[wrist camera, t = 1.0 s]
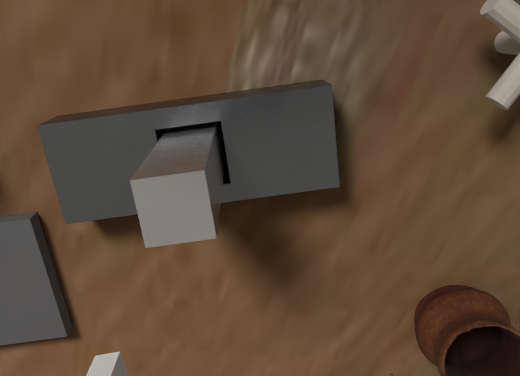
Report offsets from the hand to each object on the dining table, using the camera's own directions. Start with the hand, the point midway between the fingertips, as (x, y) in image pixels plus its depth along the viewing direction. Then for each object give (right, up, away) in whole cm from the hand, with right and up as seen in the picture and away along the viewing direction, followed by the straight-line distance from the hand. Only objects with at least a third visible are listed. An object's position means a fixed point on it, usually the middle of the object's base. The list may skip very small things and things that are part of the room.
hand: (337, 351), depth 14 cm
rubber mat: (-27, -4, +29) cm, 40 cm away
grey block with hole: (-8, +9, +25) cm, 28 cm away
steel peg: (-8, +9, +25) cm, 28 cm away
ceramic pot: (+17, -8, +33) cm, 37 cm away
